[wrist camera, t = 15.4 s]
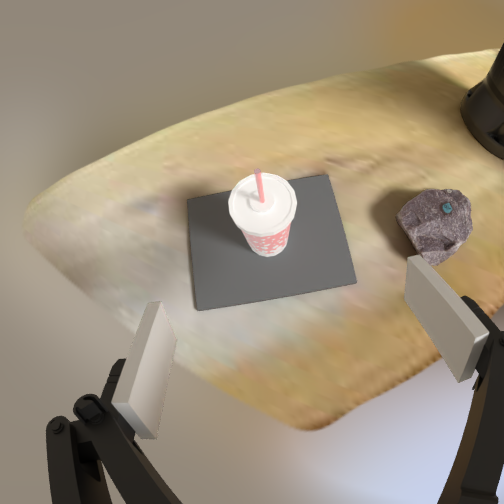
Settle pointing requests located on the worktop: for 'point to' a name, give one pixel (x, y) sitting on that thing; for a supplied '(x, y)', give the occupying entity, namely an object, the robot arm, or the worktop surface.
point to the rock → (436, 223)
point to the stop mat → (273, 267)
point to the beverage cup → (263, 211)
